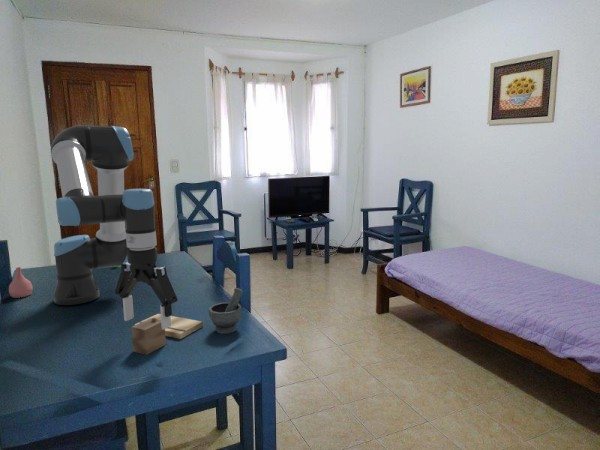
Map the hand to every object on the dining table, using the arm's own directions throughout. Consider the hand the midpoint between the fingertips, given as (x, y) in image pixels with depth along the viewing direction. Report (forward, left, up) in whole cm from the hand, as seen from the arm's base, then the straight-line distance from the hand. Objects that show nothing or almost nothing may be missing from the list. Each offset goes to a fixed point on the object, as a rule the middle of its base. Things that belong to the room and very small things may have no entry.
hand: (147, 323), depth 115 cm
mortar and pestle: (+13, +19, -7) cm, 24 cm away
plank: (-5, +13, -7) cm, 15 cm away
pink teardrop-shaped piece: (-79, +13, -7) cm, 80 cm away
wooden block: (0, 0, -7) cm, 7 cm away
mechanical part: (-77, +63, -7) cm, 100 cm away
